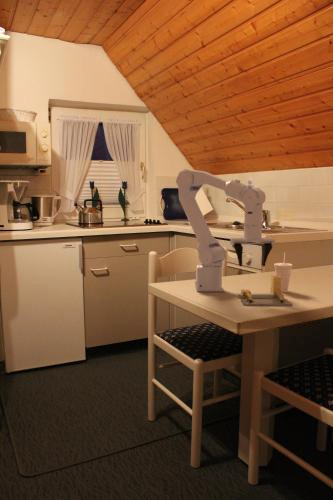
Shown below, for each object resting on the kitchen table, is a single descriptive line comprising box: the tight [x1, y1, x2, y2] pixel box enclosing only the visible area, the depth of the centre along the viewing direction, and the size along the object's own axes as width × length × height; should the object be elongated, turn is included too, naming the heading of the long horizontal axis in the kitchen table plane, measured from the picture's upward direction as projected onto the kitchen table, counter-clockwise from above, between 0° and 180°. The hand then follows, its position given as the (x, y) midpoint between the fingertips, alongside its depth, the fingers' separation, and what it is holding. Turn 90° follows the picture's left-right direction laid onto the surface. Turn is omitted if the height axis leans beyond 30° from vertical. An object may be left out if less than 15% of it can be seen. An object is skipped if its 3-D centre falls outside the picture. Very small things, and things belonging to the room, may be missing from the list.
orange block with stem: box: [269, 275, 285, 301], centre depth 137 cm, size 3×9×7 cm, turn 1°
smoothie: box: [273, 251, 294, 293], centre depth 148 cm, size 6×6×14 cm
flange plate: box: [240, 298, 293, 307], centre depth 133 cm, size 15×6×1 cm, turn 91°
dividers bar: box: [237, 289, 285, 301], centre depth 137 cm, size 15×9×2 cm, turn 91°
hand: (251, 265), depth 141 cm, fingers open, 7 cm apart
